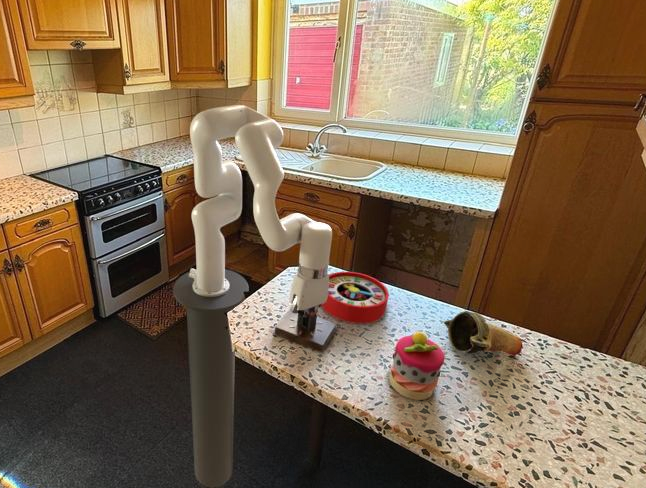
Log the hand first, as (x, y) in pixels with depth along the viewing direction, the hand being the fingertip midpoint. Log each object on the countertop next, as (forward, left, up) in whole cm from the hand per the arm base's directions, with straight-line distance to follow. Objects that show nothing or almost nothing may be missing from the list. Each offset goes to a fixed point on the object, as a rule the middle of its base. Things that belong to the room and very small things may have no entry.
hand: (306, 324), depth 113 cm
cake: (+29, -4, -3) cm, 29 cm away
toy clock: (+7, +21, -3) cm, 22 cm away
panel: (0, 0, -3) cm, 3 cm away
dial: (0, 0, 0) cm, 0 cm away
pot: (+41, +18, -3) cm, 45 cm away
